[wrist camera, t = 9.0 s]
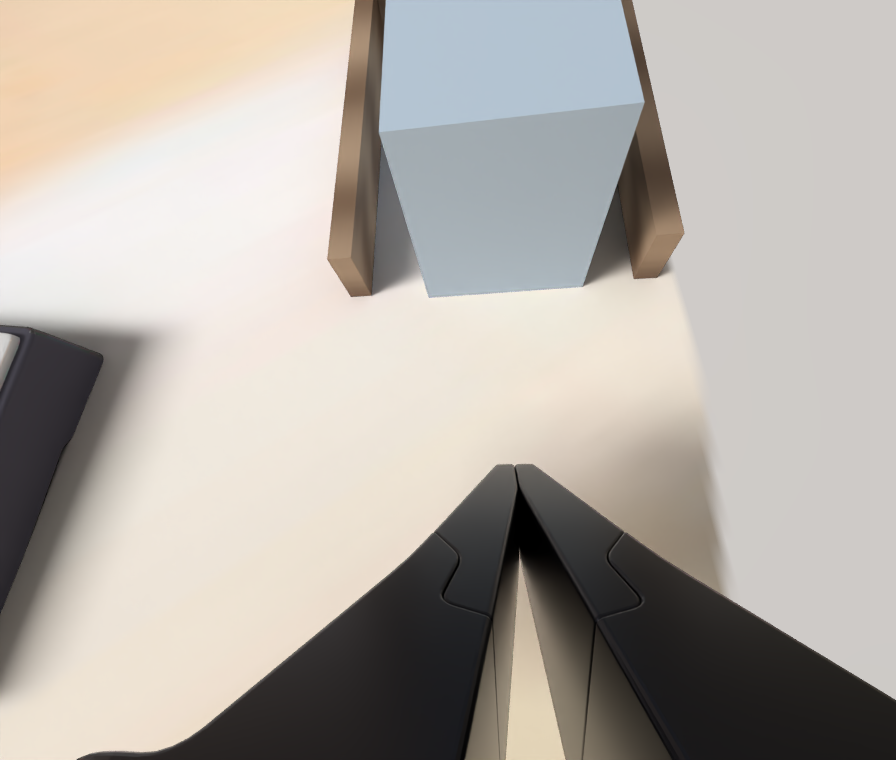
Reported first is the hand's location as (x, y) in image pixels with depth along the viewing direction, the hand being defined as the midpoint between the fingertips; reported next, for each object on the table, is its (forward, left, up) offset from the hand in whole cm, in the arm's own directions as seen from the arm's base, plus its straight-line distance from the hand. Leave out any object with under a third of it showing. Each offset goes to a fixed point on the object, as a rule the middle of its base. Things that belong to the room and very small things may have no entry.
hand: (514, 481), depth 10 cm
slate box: (+11, -13, -8) cm, 19 cm away
